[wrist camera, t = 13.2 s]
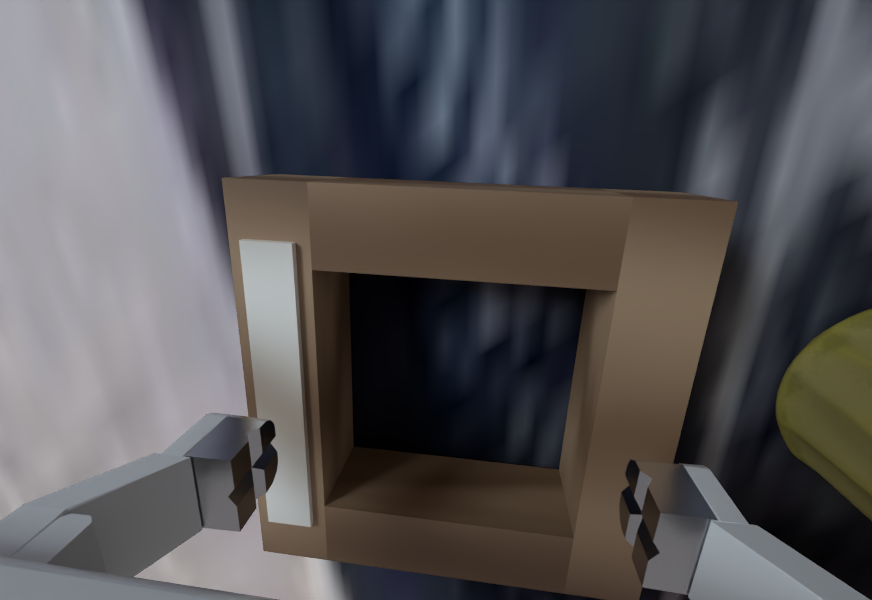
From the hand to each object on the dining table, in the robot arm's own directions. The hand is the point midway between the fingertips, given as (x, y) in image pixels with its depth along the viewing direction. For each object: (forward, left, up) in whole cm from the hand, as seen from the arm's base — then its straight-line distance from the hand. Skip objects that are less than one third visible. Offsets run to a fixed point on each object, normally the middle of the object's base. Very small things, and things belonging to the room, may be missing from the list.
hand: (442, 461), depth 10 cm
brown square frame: (0, 0, -5) cm, 5 cm away
